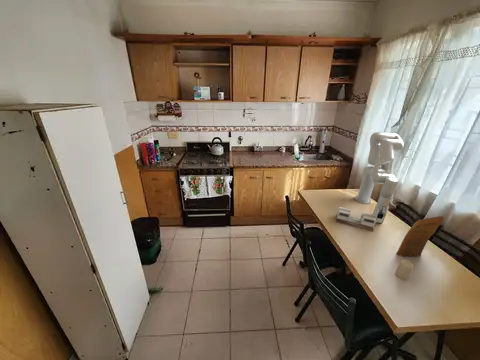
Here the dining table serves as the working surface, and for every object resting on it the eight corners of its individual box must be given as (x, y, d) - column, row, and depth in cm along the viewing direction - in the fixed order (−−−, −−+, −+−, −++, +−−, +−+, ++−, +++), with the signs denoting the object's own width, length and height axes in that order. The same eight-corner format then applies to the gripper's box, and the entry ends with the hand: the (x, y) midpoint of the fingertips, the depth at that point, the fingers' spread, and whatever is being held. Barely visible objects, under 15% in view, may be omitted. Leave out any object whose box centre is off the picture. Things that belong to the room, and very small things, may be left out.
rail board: (336, 215, 163) (339, 205, 160) (371, 223, 154) (375, 213, 151) (336, 221, 155) (338, 212, 152) (373, 231, 146) (376, 221, 142)
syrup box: (378, 218, 160) (385, 202, 154) (382, 223, 154) (389, 206, 148) (371, 218, 160) (376, 201, 154) (374, 222, 155) (380, 206, 149)
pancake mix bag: (429, 258, 124) (450, 218, 112) (399, 259, 122) (417, 220, 110) (419, 250, 130) (438, 212, 118) (391, 251, 128) (407, 212, 117)
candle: (395, 269, 115) (402, 256, 111) (408, 275, 112) (415, 261, 108) (394, 276, 111) (401, 262, 107) (407, 282, 108) (414, 267, 104)
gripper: (378, 188, 156) (371, 208, 164) (382, 198, 142) (374, 220, 150) (390, 190, 153) (383, 211, 161) (395, 201, 139) (386, 223, 147)
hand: (378, 215), depth 155 cm, fingers closed on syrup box, 7 cm apart
